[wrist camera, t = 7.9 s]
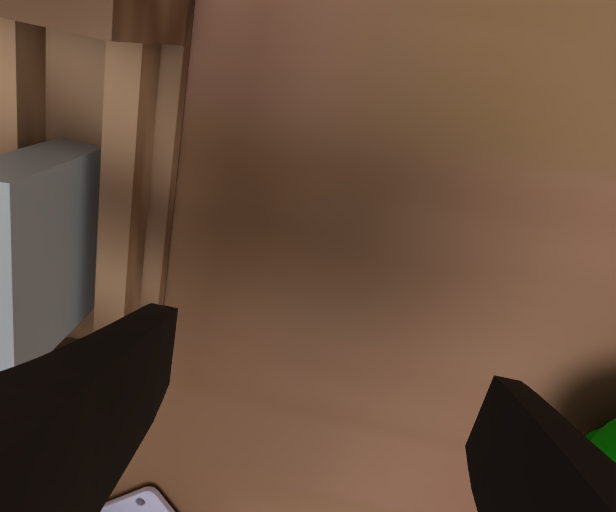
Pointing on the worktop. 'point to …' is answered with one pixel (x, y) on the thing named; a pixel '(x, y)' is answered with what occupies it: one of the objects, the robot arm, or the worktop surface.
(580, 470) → the robot arm
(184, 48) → the sill track
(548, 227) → the worktop surface
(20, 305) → the grey rectangular block
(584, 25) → the worktop surface
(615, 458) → the toy
